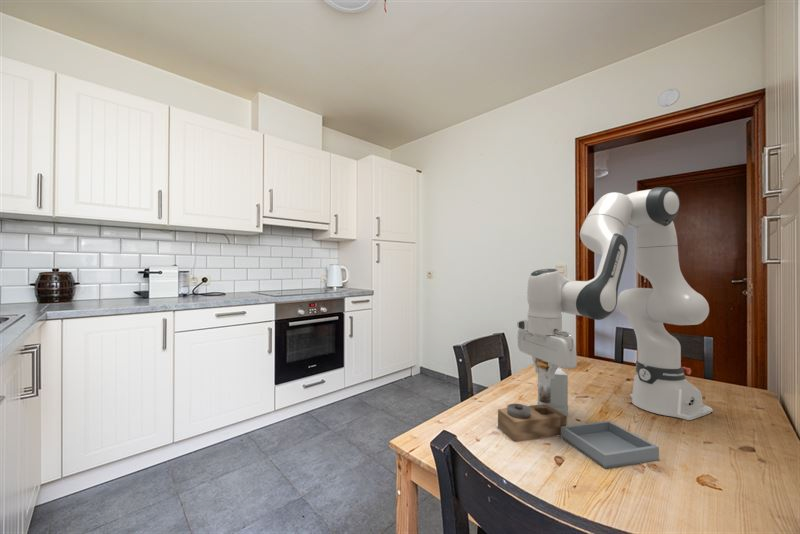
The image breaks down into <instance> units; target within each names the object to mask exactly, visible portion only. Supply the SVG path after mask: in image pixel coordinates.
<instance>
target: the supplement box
mask: <svg viewBox="0 0 800 534" xmlns="http://www.w3.org/2000/svg"><path fill="white" fill-rule="evenodd" d="M568 376H569V375H568V374H567V373H566V372H565V371H564V369H563V368H560V367H558V368H557V370H556V372H555V378H554V379H551V402H550V403H543V402H540V401H539V373H537V405H542V404H547V405H549V406H550V407H552V408H554V409H555V410H557V411H559V412H561V413H562V414H564V415H566V416H568V415H569V414H568V413H569V412H568V409H569V404H568V402H569V401H568V400H569V399H568V398H569V397H568V396H569V395H568V394H569V392H568V391H569V390H568V387H569V386H568V385H569V383H568V381H569V379H568Z"/></svg>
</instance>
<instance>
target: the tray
mask: <svg viewBox="0 0 800 534" xmlns="http://www.w3.org/2000/svg"><path fill="white" fill-rule="evenodd" d="M560 438H561V439H562V440H563V441H565V442H566V443H567V444H569V445H570V446H571V447H573V448H575V449H576V450H577V451H579V452H580V453H582V454H583V455H585V456H586V457H587V458H589V459H590V460H591V461H593V462H595V464H597V465H599V466H601V467H602V468H603V469H604V470H605V469H606V470H607V469H613V468H619V467H625V466H629V465H635V464H642V463H649V462H652V461H653V462H654V461H659V460H660V446H659V445H656V444H654V443H652V442H651V441H648V440H647V439H645V438H643V437H641V436H639V435H637V434H635V433H633V432H631V431H629V430H627V429H625V428H623V427H621V426H620V425H618V424H616V423H614V422H612V421H610V420H603V421H595V422H594V421H593V422H588V423H579V424H570V425H566V426H562V427H561V435H560Z"/></svg>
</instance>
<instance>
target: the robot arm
mask: <svg viewBox="0 0 800 534" xmlns="http://www.w3.org/2000/svg"><path fill="white" fill-rule="evenodd" d="M680 207H681V200H680V197H679V194H678V193H677V192H676V191H675V190H673V189H672V188H671V187H664V186H663V187H660V186H659V187H654V188H651V189H645V190H638V191H637V190H636V191H633V192H630V193H628V194H625V193H621V192H617V191H616V192H615V191H614V192H613V191H612V192H608V193H605V194H604V195H603V196H601V197H600V198H599V199H598V200H597V201H596V203H595V204H594V205H593V206H592V208H591V210H590V211H589V212H588V214H587V216H586V218H585V219H584V221H583V223H582V225H581V227H580V229H579V230H580V232H579V238H580V240H581V243H582V244H583V245H584V246H585V248H587V249H588V250H590V251H591V252H593V253H595V254H599V255H601V259H600V261H599V265H598V269H597V272H596V276H595V277H593V278H592V279H589V280H571V279H570V278H567V277H565V276H564V275H562V274H561V273H560V271H559V270H558V269H556V268H545V269H537V270H534V271H532V272H531V273H530V274H529V277H528V281H527V292H526V293H527V295H526V297H527V304H528V311H527V318H525V319H521V320H518V321H517V322H516V327H517V329H518V331H517V348H518V350H519V352H521V353H523V354H526V355H528V356H531V357H532V359H531V360H532V362H533V364H534V367H535V369H534V371H535V373H537V374H538V373H539V366H538V365H537V360H543V361H546V362H548V366H549V370H548V371H546V377H547V378H549V379H554V378H555V372H556V370H557V368H560V369H562V370H573V369H575V368H576V367H577V366H578V358H577V350H576V345H575V340H574V338H573V337H572V336H571V335H570V333H569V332H568V331H563V316H562V315H563V314H568V315H575V316H581V317H583V318H589V319H591V320H596V321H602V320H604V319H606V318H608V317H609V316H610V315H612V314H613V312H614V311H615V310H616V307H617V309H618V311H619V312H620V314H622V315H623V316H624V317H625V318H626V319H627V320H628V322H629V324H630V325H631V326H632V329H633V331H634V333H635V334H634V335H635V338H636V344H637V345H636V347H637V348H636V349H637V360H636V362H635V372H636V374H635V375H634V380H633V387H632V392H631V393H630V394H629V396H630V398H631V403H632V404H633V405H634V406H636V407H637V408H640V409H641V410H645V411H647V412H650V413H653V414H657V415H662V416H666V417H667V416H668V417H673V418H678V419H682V420H687V421H693V420H695V419H698V418H700V417H703V416H706V415H709V414H712V413H713V412H714V411H713V408H712V407H711V406H709V405H706V404H704V403H703V394H702V392H701V391H700V389H698V388H697V387H696V386H695V385H694V384H692V383H691V382H689V380H687V379H686V375H691V373H692V369H691V367H685V366H682V362H681V360H682V355H681V354H682V353H681V351H682V349H681V348H682V346H681V344H680V341H679V340H678V339H677V338H676V337H675V336H673V335H671V334H670V333H669V332H668V331H667V330H666V328H665V325H664V324H668V325H675V326H691V325H692V326H694V325H695V326H696V325H701V324H702V323H703V322H704V321H706V319H707V318H708V316H709V314H710V306H709V302H708V301H707V300H706V298H705V297H704V296H703V295H702V294H700V293H699V292H697V291H696V290H695V289H694V288H692V287H691V285H690V284H689V283H688V282H687V280H686V279H685V277H684V275H683V273H682V271H681V267H680V261H679V249H678V247H679V246H678V244H679V243H678V236H677V231H676V227H675V223H674V221H673V220H674V219H675V218H676V216H677V215H678V213H679V211H680ZM629 228H630V229H631V228H635V234H634V253H635V254H634V255H635V259H634V260H635V270H636V271H637V273H638V274H639V275H640V276H642V277H645V278H646V279H647V280H648V281H649V282H650V284H651V286H652V287H651V288H650V287H647V288H646V287H637V288H636V287H634V288H628V289H623V290H622V291H621V292H620V293H618V292H619V286H620V283H621V278H622V274H623V271H624V267H625V264H626V261H627V256H628V250H629V249H628V248H629V243H628V240H627V238H625V237H624V234H625V231H626V229H629ZM562 313H563V314H562ZM685 374H686V375H685ZM711 412H712V413H711Z"/></svg>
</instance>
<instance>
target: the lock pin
mask: <svg viewBox="0 0 800 534" xmlns="http://www.w3.org/2000/svg"><path fill="white" fill-rule="evenodd" d="M537 365H538V366H539V401H540V402H543V403H550V402H551V379H549V378H547V377H546V371H548V370H549V366H548V362H546V361H543V360H537Z"/></svg>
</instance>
